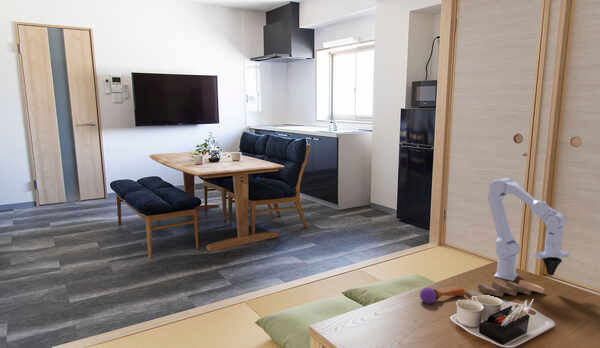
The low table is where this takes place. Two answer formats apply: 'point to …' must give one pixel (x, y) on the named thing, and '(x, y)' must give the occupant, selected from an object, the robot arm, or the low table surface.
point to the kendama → (439, 294)
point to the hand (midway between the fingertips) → (550, 274)
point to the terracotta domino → (531, 286)
